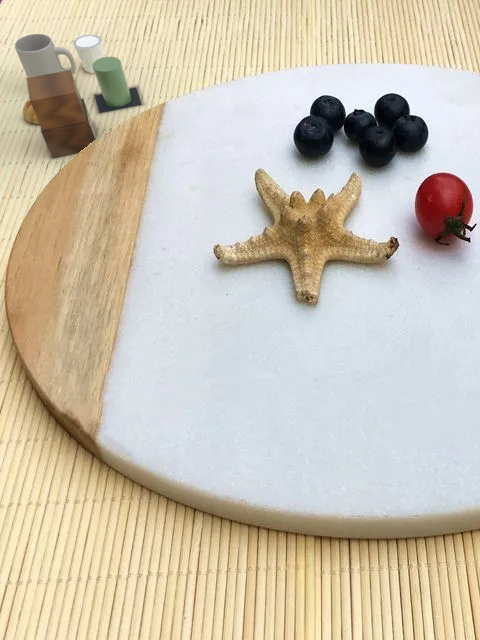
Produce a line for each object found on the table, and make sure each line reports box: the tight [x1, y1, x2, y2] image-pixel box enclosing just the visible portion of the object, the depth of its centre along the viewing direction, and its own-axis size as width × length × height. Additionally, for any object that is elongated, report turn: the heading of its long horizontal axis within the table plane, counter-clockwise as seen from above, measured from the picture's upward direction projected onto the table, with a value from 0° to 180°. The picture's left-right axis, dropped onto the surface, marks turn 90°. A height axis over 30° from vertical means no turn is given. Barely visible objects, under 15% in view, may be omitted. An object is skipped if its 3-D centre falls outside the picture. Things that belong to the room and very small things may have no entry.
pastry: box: [22, 99, 40, 126], centre depth 157 cm, size 9×7×4 cm
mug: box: [14, 33, 77, 78], centre depth 162 cm, size 12×8×11 cm
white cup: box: [72, 34, 107, 74], centre depth 169 cm, size 7×7×7 cm
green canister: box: [93, 56, 132, 107], centre depth 159 cm, size 6×6×9 cm
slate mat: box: [94, 87, 143, 114], centre depth 163 cm, size 10×8×1 cm
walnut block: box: [25, 70, 97, 159], centre depth 148 cm, size 10×10×14 cm
